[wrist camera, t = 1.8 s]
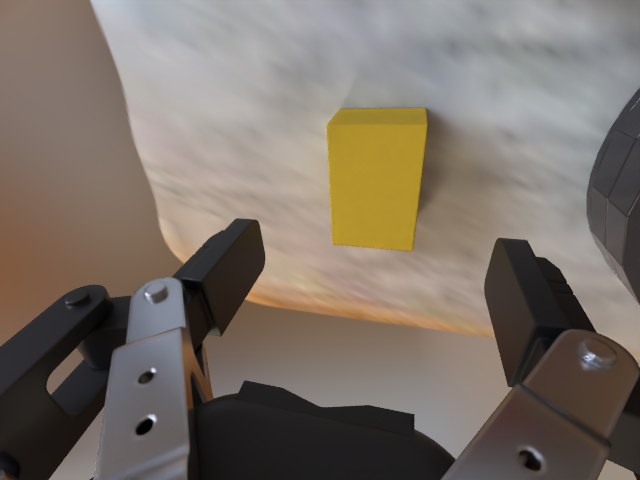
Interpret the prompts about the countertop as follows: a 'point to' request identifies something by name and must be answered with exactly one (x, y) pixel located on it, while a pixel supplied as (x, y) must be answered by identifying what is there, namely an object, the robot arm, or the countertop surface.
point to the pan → (618, 197)
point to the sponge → (376, 175)
